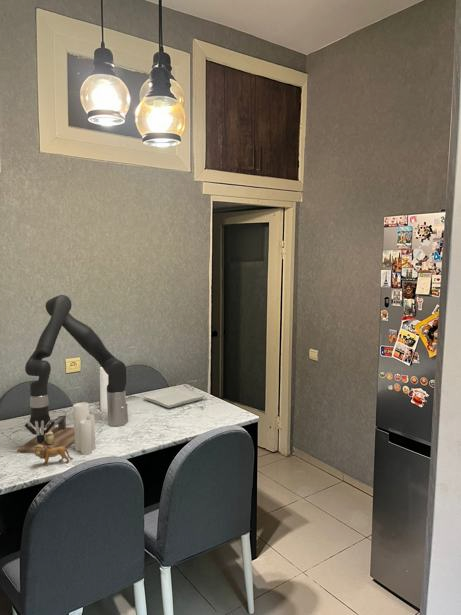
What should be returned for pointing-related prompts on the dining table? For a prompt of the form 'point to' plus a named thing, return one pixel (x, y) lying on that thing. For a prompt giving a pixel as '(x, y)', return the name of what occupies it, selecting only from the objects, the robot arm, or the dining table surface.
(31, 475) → the dining table surface
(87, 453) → the white pillar candles
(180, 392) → the square plate
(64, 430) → the walnut board
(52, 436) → the maple link
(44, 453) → the lion figurine
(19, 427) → the dining table surface
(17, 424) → the dining table surface
